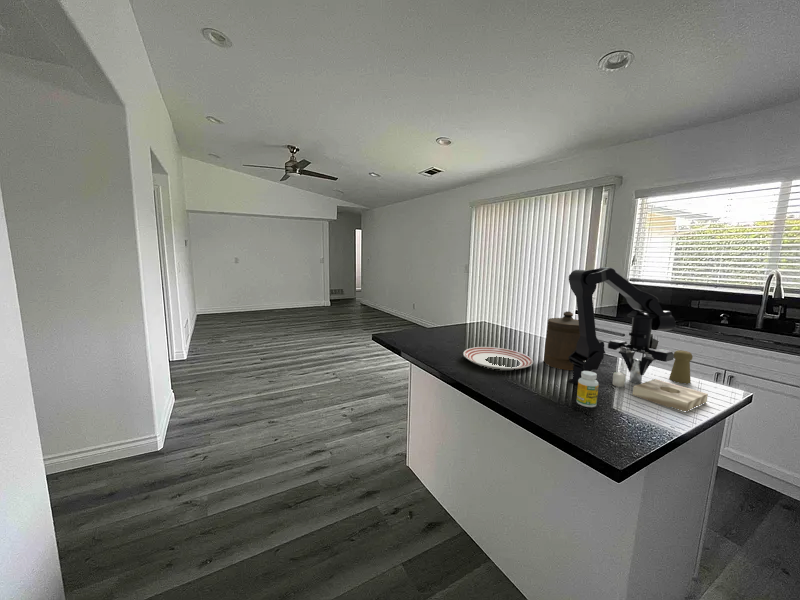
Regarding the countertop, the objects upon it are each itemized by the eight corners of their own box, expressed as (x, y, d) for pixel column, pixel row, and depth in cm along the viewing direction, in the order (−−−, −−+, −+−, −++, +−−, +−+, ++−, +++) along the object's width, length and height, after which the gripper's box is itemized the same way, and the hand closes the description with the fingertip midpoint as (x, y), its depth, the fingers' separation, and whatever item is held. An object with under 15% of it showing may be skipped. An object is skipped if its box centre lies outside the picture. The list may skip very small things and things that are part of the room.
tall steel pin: (638, 384, 119) (640, 362, 118) (627, 380, 122) (629, 359, 121) (643, 382, 121) (645, 360, 120) (632, 379, 124) (635, 357, 123)
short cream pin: (620, 387, 116) (622, 376, 115) (610, 384, 119) (611, 373, 118) (626, 385, 117) (627, 374, 117) (615, 382, 120) (617, 371, 120)
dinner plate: (538, 361, 144) (539, 353, 144) (524, 380, 121) (524, 371, 121) (476, 350, 159) (476, 343, 158) (452, 365, 136) (452, 357, 135)
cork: (682, 378, 126) (686, 349, 125) (694, 384, 120) (699, 354, 119) (665, 377, 127) (668, 348, 125) (676, 383, 121) (680, 353, 119)
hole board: (685, 412, 97) (687, 402, 97) (632, 395, 109) (633, 386, 109) (706, 403, 104) (707, 393, 104) (654, 387, 116) (655, 378, 116)
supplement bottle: (587, 399, 105) (590, 369, 104) (600, 407, 100) (604, 375, 99) (572, 400, 104) (574, 370, 103) (585, 408, 99) (588, 376, 98)
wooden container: (590, 366, 138) (595, 312, 135) (573, 373, 129) (578, 316, 126) (554, 357, 149) (558, 307, 147) (536, 363, 140) (540, 310, 137)
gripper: (684, 333, 115) (678, 378, 117) (625, 323, 131) (621, 362, 133) (668, 337, 109) (662, 383, 112) (608, 326, 126) (604, 367, 128)
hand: (636, 373), depth 121 cm, fingers closed on tall steel pin, 3 cm apart
